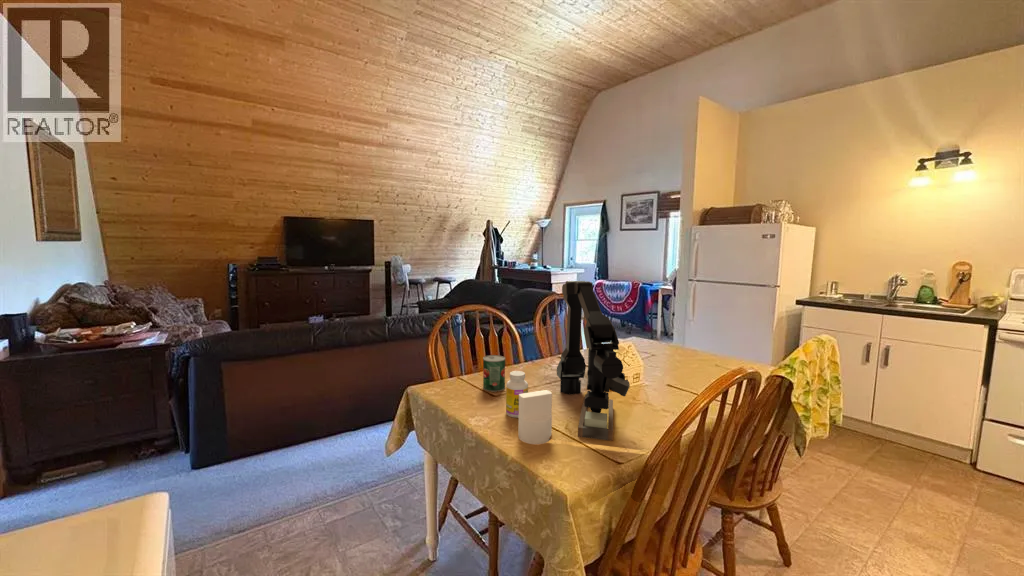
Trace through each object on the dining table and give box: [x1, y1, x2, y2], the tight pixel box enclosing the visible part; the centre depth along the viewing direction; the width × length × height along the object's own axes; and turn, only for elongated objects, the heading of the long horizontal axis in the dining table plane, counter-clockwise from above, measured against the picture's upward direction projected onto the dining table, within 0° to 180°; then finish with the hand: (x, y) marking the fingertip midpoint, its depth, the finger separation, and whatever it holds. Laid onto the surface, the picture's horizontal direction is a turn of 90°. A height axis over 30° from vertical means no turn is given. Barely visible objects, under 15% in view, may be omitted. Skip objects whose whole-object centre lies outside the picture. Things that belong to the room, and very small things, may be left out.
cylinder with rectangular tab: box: [517, 389, 553, 445], centre depth 113 cm, size 9×9×12 cm
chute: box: [577, 396, 614, 442], centre depth 121 cm, size 9×22×4 cm, turn 166°
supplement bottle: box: [505, 370, 529, 419], centre depth 127 cm, size 7×7×13 cm
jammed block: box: [584, 411, 608, 429], centre depth 114 cm, size 6×5×4 cm
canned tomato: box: [482, 354, 506, 393], centre depth 150 cm, size 8×8×11 cm
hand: (596, 419), depth 118 cm, fingers closed
